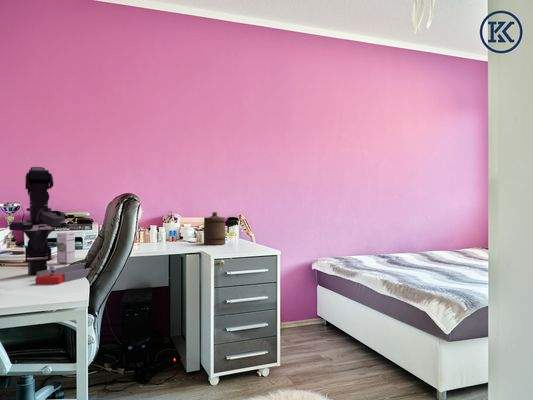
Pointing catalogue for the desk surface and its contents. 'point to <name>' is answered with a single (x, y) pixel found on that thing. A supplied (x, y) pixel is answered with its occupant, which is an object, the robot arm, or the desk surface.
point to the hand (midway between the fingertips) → (38, 249)
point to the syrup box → (65, 247)
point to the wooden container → (214, 230)
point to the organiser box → (69, 272)
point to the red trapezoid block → (50, 277)
